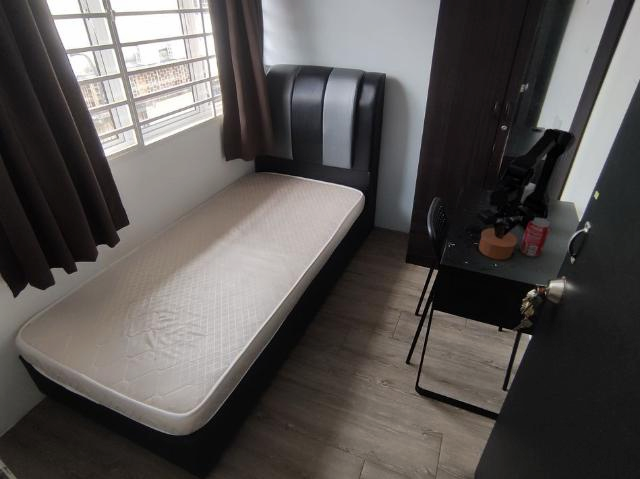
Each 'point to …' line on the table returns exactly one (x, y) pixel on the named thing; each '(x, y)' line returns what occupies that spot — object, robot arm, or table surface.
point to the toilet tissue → (527, 191)
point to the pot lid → (499, 238)
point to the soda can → (535, 237)
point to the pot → (495, 250)
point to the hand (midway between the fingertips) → (499, 235)
